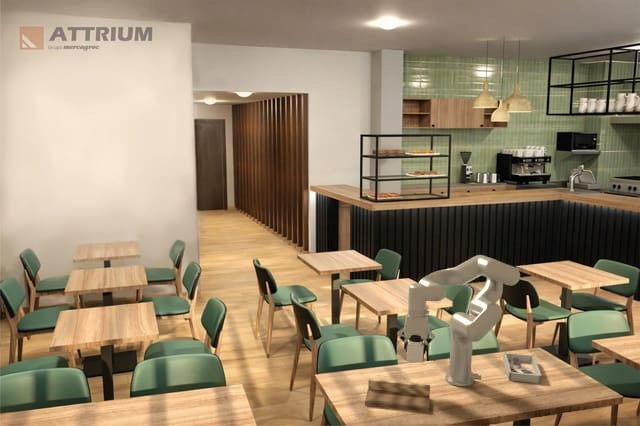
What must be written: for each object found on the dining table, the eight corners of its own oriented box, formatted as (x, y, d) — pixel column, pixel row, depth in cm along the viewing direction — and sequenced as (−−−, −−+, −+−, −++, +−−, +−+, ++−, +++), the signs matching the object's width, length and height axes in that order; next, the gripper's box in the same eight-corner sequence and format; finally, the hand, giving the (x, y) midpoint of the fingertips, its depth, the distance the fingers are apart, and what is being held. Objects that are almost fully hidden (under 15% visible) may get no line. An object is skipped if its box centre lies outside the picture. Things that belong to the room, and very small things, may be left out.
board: (429, 398, 235) (430, 385, 235) (428, 412, 224) (429, 398, 223) (368, 391, 241) (368, 378, 240) (364, 405, 229) (365, 391, 228)
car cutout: (505, 364, 269) (506, 355, 268) (517, 362, 271) (518, 354, 270) (525, 378, 255) (525, 368, 254) (537, 376, 256) (538, 367, 256)
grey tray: (533, 362, 272) (533, 355, 272) (541, 383, 250) (541, 376, 249) (503, 359, 275) (503, 352, 275) (508, 380, 253) (509, 372, 252)
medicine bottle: (423, 363, 237) (424, 336, 235) (406, 361, 238) (407, 334, 236) (423, 356, 244) (424, 330, 242) (407, 354, 245) (408, 328, 243)
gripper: (437, 311, 239) (436, 350, 242) (397, 308, 243) (396, 346, 246) (437, 317, 232) (435, 357, 235) (395, 313, 236) (394, 353, 239)
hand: (415, 351), depth 240 cm, fingers closed on medicine bottle, 7 cm apart
